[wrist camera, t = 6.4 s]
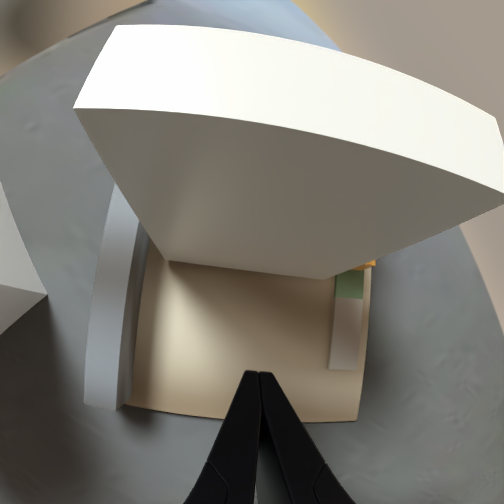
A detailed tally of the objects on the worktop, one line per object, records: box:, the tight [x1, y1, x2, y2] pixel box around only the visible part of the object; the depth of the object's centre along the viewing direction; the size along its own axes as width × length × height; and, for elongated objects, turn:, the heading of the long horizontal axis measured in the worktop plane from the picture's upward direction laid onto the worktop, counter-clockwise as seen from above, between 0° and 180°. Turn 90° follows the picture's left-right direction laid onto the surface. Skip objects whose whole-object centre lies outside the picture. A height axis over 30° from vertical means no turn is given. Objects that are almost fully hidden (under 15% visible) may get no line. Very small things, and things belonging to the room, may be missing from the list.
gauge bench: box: [83, 182, 371, 422], centre depth 13 cm, size 14×14×8 cm
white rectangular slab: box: [73, 25, 504, 280], centre depth 10 cm, size 2×10×12 cm, turn 84°
